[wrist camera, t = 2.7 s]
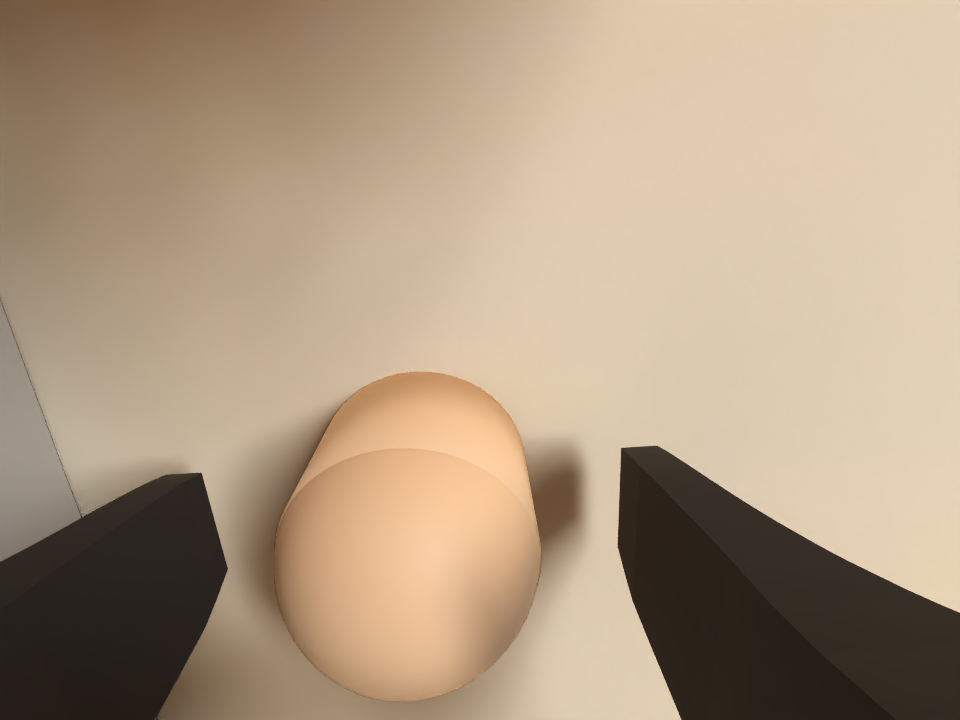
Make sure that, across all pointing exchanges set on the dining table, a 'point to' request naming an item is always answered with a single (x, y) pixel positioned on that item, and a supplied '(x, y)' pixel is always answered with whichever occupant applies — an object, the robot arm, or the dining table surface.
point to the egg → (410, 540)
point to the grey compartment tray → (27, 460)
